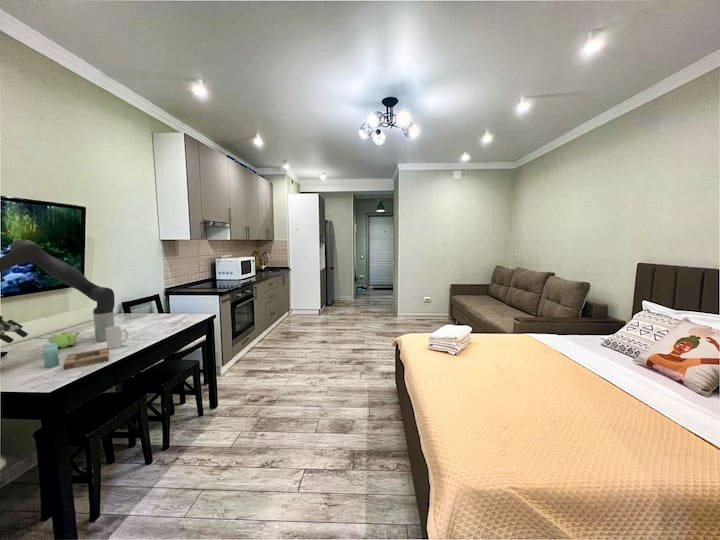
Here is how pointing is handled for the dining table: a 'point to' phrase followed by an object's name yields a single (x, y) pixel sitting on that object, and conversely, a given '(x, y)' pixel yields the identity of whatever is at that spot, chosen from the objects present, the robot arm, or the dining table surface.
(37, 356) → the dining table surface
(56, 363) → the teal cylinder
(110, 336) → the mug
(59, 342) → the teapot
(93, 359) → the wooden trivet
